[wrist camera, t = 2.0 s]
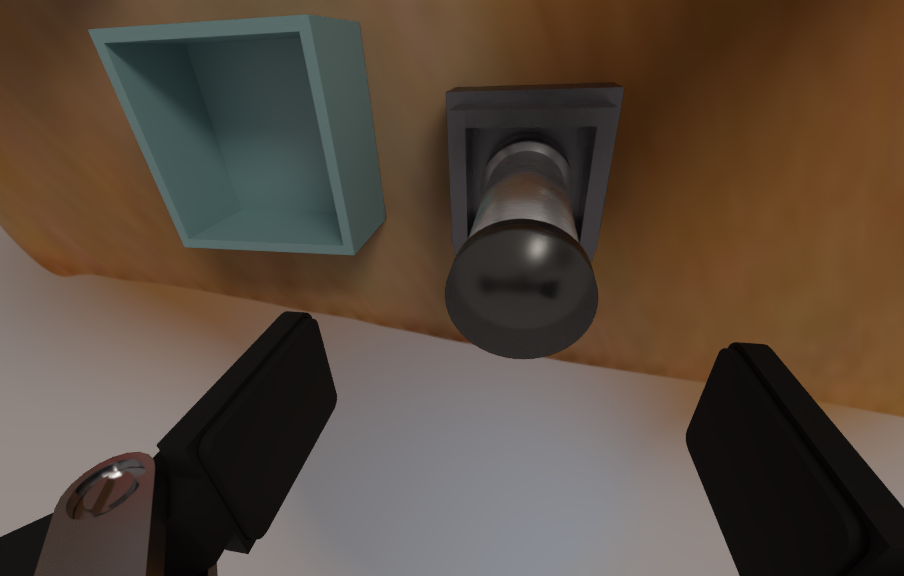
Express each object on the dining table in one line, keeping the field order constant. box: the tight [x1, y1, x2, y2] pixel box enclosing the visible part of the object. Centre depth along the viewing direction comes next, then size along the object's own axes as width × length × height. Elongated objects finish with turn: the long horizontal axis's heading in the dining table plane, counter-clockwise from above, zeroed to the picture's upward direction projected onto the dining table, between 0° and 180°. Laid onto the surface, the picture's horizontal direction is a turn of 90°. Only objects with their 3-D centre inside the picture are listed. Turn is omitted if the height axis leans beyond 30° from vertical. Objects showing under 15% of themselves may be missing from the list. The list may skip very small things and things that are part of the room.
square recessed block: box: [446, 83, 624, 261], centre depth 22 cm, size 9×9×6 cm
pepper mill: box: [445, 133, 598, 359], centre depth 17 cm, size 5×5×13 cm
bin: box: [88, 14, 386, 255], centre depth 24 cm, size 12×12×6 cm
